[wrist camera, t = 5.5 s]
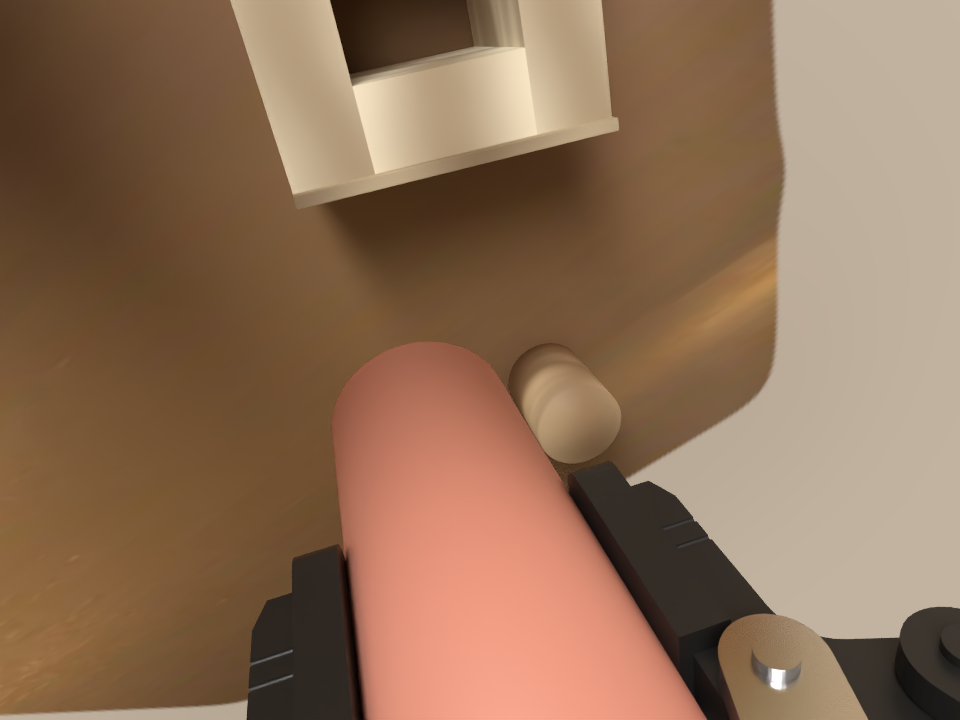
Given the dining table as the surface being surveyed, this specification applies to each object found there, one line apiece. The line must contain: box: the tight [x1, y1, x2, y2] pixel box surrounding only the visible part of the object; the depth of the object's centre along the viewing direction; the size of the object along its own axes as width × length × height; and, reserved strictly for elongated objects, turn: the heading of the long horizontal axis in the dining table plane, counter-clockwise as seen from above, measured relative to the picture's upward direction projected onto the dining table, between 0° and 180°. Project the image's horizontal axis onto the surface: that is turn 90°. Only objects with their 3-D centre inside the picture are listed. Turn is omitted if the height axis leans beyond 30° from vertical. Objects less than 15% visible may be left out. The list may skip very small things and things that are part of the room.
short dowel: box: [509, 344, 621, 463], centre depth 33 cm, size 4×4×5 cm
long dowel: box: [332, 341, 707, 720], centre depth 10 cm, size 4×4×12 cm
